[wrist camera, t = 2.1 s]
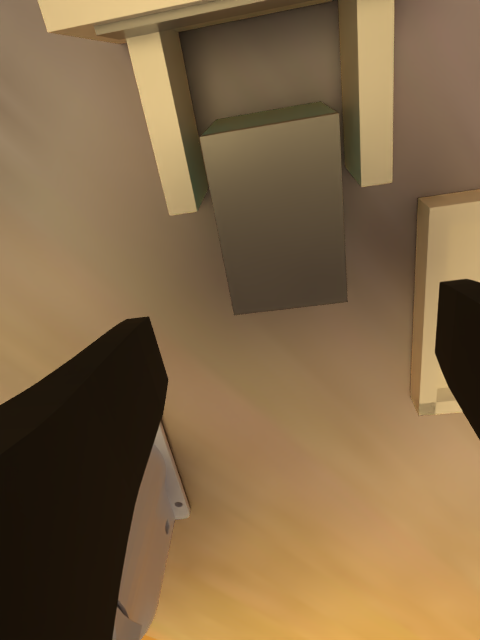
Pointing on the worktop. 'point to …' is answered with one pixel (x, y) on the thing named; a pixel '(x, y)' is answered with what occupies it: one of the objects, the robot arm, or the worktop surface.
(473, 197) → the tray
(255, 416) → the worktop surface
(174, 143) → the bay
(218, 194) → the tall grey-green carton
